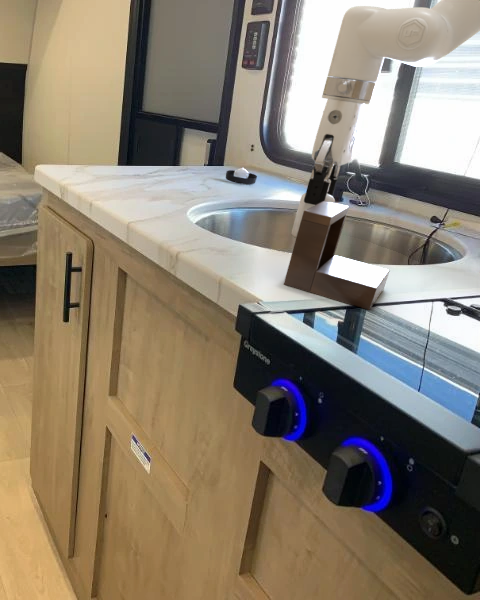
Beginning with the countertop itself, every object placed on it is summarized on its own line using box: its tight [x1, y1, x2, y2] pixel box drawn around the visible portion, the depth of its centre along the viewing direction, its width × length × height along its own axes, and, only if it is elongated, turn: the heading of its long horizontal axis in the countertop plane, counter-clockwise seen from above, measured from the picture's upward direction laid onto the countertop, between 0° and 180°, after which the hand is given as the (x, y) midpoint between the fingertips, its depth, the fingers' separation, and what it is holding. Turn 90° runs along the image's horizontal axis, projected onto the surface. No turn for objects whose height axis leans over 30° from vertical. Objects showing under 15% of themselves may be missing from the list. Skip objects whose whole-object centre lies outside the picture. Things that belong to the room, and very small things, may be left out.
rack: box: [283, 201, 391, 311], centre depth 80 cm, size 11×11×10 cm
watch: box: [225, 167, 258, 185], centre depth 152 cm, size 8×5×4 cm, turn 77°
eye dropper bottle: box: [290, 171, 336, 239], centre depth 104 cm, size 4×6×12 cm
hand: (317, 201), depth 103 cm, fingers closed on eye dropper bottle, 4 cm apart
